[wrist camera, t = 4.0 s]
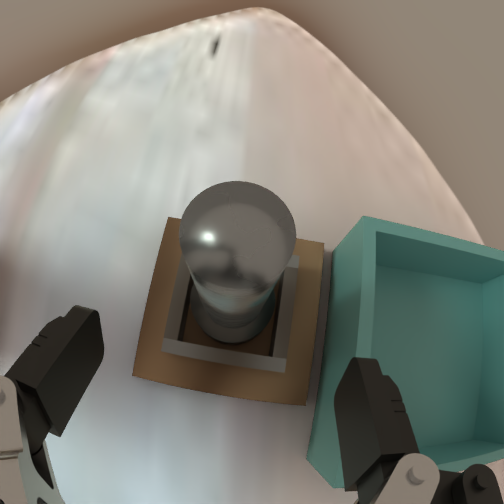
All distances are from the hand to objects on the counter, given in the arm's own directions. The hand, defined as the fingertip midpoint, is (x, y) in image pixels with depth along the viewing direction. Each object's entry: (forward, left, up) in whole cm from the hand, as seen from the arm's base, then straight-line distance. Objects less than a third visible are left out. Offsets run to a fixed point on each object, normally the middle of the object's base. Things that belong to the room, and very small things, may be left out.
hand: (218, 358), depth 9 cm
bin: (+14, +1, -11) cm, 18 cm away
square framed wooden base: (0, +3, -11) cm, 12 cm away
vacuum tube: (0, +3, -10) cm, 11 cm away
